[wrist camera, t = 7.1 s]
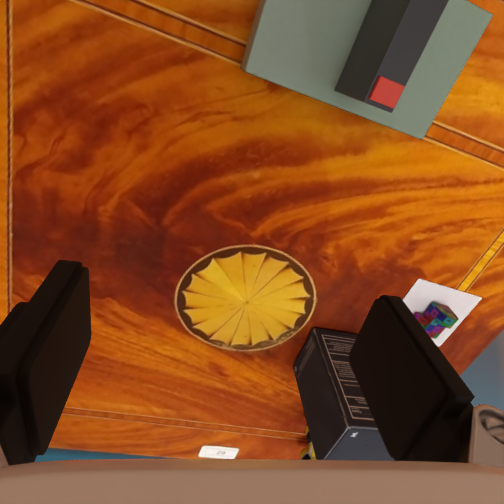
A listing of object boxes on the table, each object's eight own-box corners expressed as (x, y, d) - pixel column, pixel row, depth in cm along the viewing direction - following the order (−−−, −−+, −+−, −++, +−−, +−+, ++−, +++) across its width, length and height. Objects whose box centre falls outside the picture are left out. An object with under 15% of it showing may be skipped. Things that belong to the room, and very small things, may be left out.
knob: (381, -24, 17) (433, -45, 13) (408, -11, 18) (466, -27, 14) (333, 90, 20) (365, 102, 16) (357, 100, 20) (394, 114, 16)
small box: (289, 369, 37) (313, 472, 28) (311, 325, 34) (347, 425, 25) (374, 380, 40) (422, 478, 31) (402, 340, 36) (464, 436, 28)
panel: (239, 67, 22) (243, 71, 19) (279, -71, 19) (292, -93, 16) (397, 128, 25) (422, 140, 22) (455, 18, 22) (494, 14, 19)
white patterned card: (425, 299, 33) (438, 315, 31) (447, 305, 34) (462, 322, 32) (401, 329, 35) (412, 347, 33) (423, 335, 36) (435, 352, 34)
